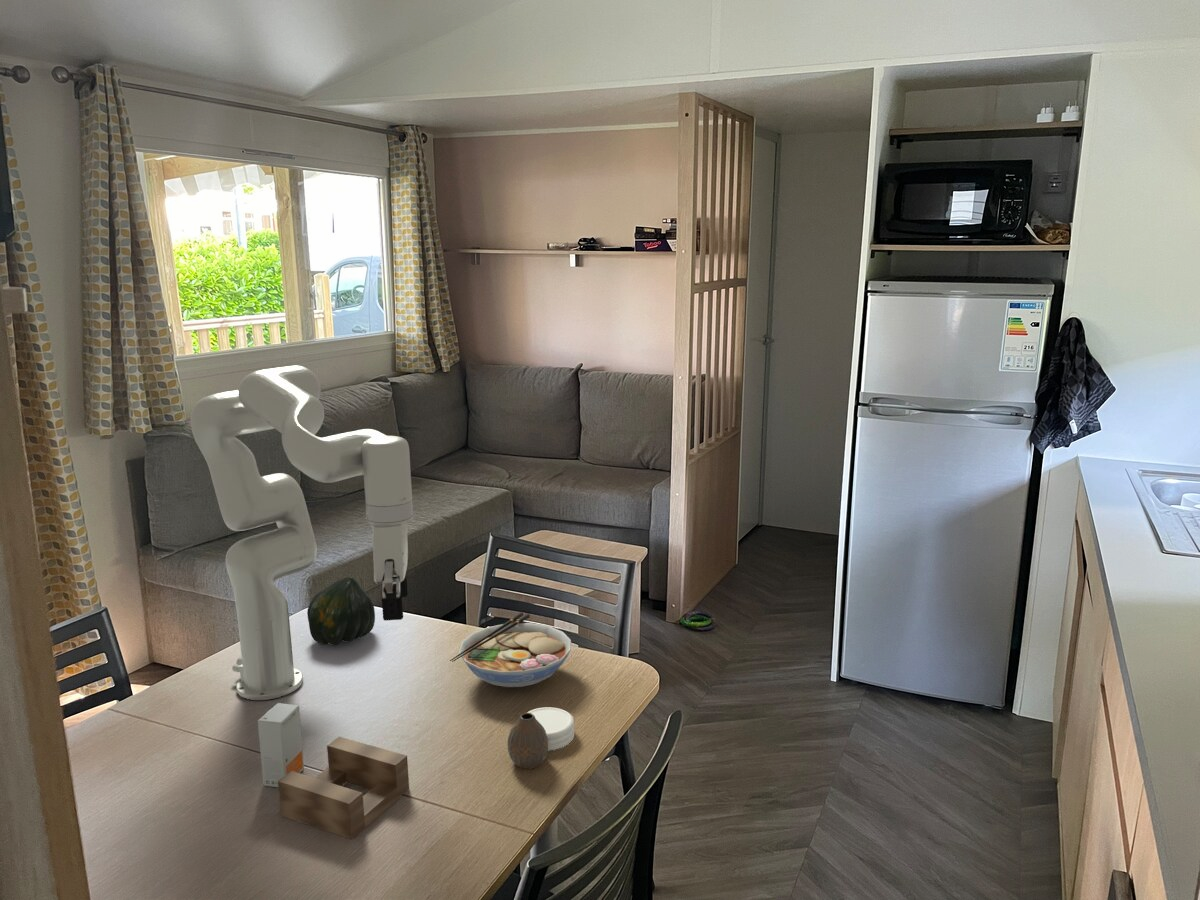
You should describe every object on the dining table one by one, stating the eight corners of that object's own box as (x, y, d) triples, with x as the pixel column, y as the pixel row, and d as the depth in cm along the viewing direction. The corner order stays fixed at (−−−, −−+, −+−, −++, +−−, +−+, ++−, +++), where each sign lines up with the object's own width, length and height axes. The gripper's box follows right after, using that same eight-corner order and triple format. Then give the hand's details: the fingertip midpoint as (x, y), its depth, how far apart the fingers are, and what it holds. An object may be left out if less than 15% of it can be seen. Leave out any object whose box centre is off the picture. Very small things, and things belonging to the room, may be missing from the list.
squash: (283, 622, 197) (317, 579, 192) (325, 599, 211) (359, 559, 206) (325, 669, 196) (361, 627, 190) (365, 643, 209) (400, 604, 204)
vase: (554, 755, 155) (553, 709, 153) (539, 777, 149) (538, 729, 147) (518, 748, 157) (516, 703, 155) (501, 769, 151) (499, 722, 149)
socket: (281, 815, 139) (277, 781, 138) (341, 768, 152) (339, 736, 150) (352, 839, 133) (349, 803, 132) (409, 788, 146) (407, 755, 144)
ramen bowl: (525, 721, 166) (523, 681, 164) (432, 690, 178) (430, 652, 176) (596, 668, 187) (596, 631, 185) (509, 643, 198) (508, 609, 197)
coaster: (579, 725, 165) (579, 708, 164) (568, 755, 155) (567, 737, 155) (526, 721, 167) (526, 704, 166) (512, 750, 157) (512, 732, 156)
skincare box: (286, 789, 146) (280, 723, 143) (262, 786, 147) (256, 720, 144) (305, 768, 152) (299, 704, 149) (282, 765, 152) (276, 702, 150)
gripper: (372, 497, 155) (378, 590, 159) (359, 528, 139) (367, 630, 143) (416, 495, 156) (421, 587, 160) (409, 525, 140) (415, 627, 143)
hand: (395, 607), depth 151 cm, fingers open, 9 cm apart
